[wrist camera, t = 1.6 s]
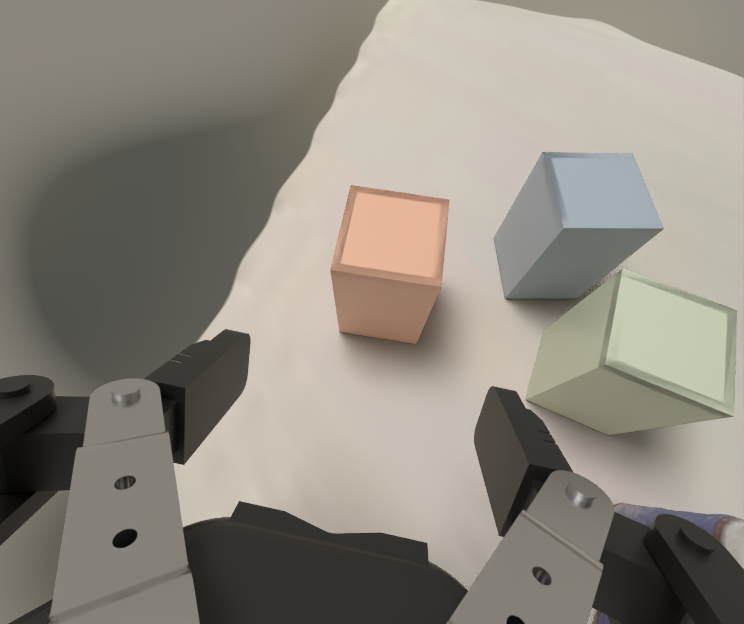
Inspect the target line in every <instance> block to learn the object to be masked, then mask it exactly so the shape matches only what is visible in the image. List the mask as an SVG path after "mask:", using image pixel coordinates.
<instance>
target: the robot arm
mask: <svg viewBox="0 0 744 624" xmlns="http://www.w3.org/2000/svg"><path fill="white" fill-rule="evenodd" d="M249 353H250V335H249V334H247V333H242V332H237V331H232V330H228V329H225V330H224V331H222V332H221V333H220V334H218V335H217V336H216V337H214V338H213V339H212V340H211V341H209V340H204V341H201V342H198V343H195V344H192V345H190V346H189V347H187V348H186V349H185V350H183V351H182V352H181V353H180V354H178V355H176V356H175V357H173V358H172V359H171V361H168V362H166V363H165V364H164V365H163V366H161V367H159V368H158V369H157V370H155V371H154V372H153V373H151V374H150V375H149V376H147V377H146V378H144V379H123V380H118V381H114V382H111V383H108V384H105V385H103V386H101V387H99V388H98V389H96V390H95V391H94V392H93V393H92V394H91V396H90V397H64V396H55V389H54V383H53V382H52V380H50V379H49V378H46V377H42V376H36V375H21V376H13V377H7V378H3V379H0V545H1V544H2V543H3V542H5V541H6V540H7V539H8V538H9V537H10V536H11V535H12V534H13V533H14V532H15V531H16V530H17V529H18V528H19V527H21V525H23V524H24V523H25V522H26V521H27V520H28V519H29V518H30V517H31V516H32V515H33V514H34V513H35V512H37V511H38V510H39V509H40V508H41V507H42V506H43V505H44V504H45V503H46V502H47V501H48V500H49V499H50V498H51V497H52V496H54V495H55V494H56V493H57V492H58V491H60V490H70V493H69V499H68V505H67V512H66V519H65V525H64V532H63V537H62V544H61V550H60V557H59V563H58V569H57V576H56V582H55V589H54V595H53V599H52V600H50V601H48V602H46V603H45V604H43V605H41V606H40V607H38V608H36V609H34V610H32V611H30V612H29V613H27V614H25V615H23V616H22V617H20V618H18V619H16V620H14V621H12V622H11V623H9V624H587V622H588V619H589V615H590V612H591V608H594V609H596V610H598V611H600V612H602V613H604V614H606V615H607V617H608V619H609V622H610V624H744V569H743V568H742V566H741V565H740V564H739V563H738V562H737V561H736V559H735V558H734V557H733V556H732V555H731V553H730V552H729V551H728V550H727V549H726V548H725V547H724V546H723V545H722V544H721V543H720V542H719V541H718V540H717V539H715V538H714V537H713V536H712V535H710V534H709V533H708V532H706V531H705V530H703V529H702V528H700V527H699V526H697V525H695V524H694V523H692V522H690V521H688V520H686V519H683V518H681V517H678V516H675V515H671V514H660V515H658V516H657V517H656V518H655V520H654V522H653V523H652V525H651V527H648V526H646V525H644V524H641V523H639V522H637V521H634V520H632V519H630V518H628V517H625V516H623V515H621V514H619V513H616V512H614V511H615V510H614V506H613V503H612V501H611V500H610V498H609V497H608V496H607V495H606V493H605V492H604V491H603V490H602V489H600V488H599V487H598V486H597V485H596V484H594V483H593V482H591V481H590V480H588V479H586V478H585V477H583V476H581V475H578V474H576V473H573V471H572V469H571V468H570V466H569V464H568V462H567V461H566V459H565V457H564V456H563V454H562V452H561V451H560V449H559V447H558V446H557V445H556V444H555V441H554V439H553V437H552V436H551V435H550V434H549V433H550V432H549V431H548V429H547V427H546V426H545V424H544V422H543V421H542V420H541V419H540V418H539V417H538V416H537V415H536V414H535V413H533V412H532V411H531V410H530V409H526V408H525V406H524V404H523V403H522V401H521V399H520V397H519V395H518V394H517V392H516V391H513V390H508V389H503V388H499V387H494V386H492V387H490V389H489V390H488V393H487V395H486V398H485V401H484V404H483V407H482V410H481V413H480V416H479V419H478V422H477V425H476V428H475V434H474V444H475V449H476V452H477V456H478V460H479V463H480V467H481V471H482V474H483V478H484V482H485V486H486V489H487V493H488V497H489V500H490V504H491V508H492V511H493V515H494V519H495V523H496V526H497V530H498V534H499V536H502V537H504V538H503V540H502V541H501V543H500V544H499V546H498V547H497V549H496V550H495V552H494V553H493V555H492V556H491V558H490V559H489V561H488V562H487V564H486V565H485V567H484V568H483V570H482V571H481V573H480V574H479V576H478V577H477V579H476V580H475V582H474V583H473V585H472V586H471V588H470V589H469V591H468V590H467V589H466V588H465V587H464V586H462V585H461V584H460V583H459V582H458V581H457V580H456V579H455V578H453V577H452V576H451V575H450V574H448V573H447V572H446V571H444V570H443V569H441V568H439V567H438V566H436V565H435V564H433V563H431V562H429V561H428V547H427V543H424V542H420V541H415V540H411V539H407V538H402V537H398V536H393V535H389V534H384V533H344V534H333V533H328V532H326V531H324V530H322V529H320V528H317V527H315V526H313V525H311V524H309V523H307V522H305V521H303V520H301V519H299V518H297V517H295V516H293V515H291V514H289V513H287V512H285V511H281V510H277V509H272V508H268V507H263V506H259V505H254V504H250V503H245V502H241V501H239V503H238V505H237V507H236V508H235V510H234V512H233V514H232V516H231V517H222V518H214V519H209V520H204V521H200V522H197V523H194V524H191V525H188V526H185V527H183V526H182V520H181V513H180V506H179V499H178V492H177V485H176V478H175V471H174V464H173V463H178V464H182V465H184V464H185V463H186V462H187V461H188V459H189V458H190V457H191V456H192V454H193V453H194V452H195V451H196V449H197V448H198V447H199V446H200V444H201V443H202V442H203V441H204V440H205V438H206V437H207V436H208V435H209V433H210V432H211V431H212V430H213V428H214V427H215V426H216V425H217V423H218V422H219V421H220V420H221V419H222V417H223V416H224V415H225V414H226V412H227V411H228V410H229V409H230V407H231V406H232V405H233V404H234V402H235V401H236V400H237V399H238V398H239V396H240V395H241V394H242V392H243V390H244V388H245V385H246V381H247V376H248V365H249Z"/></svg>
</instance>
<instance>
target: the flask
mask: <svg viewBox="0 0 744 624" xmlns="http://www.w3.org/2000/svg"><path fill="white" fill-rule="evenodd" d="M613 506H614V510H615V511H614V512H616V513H619V514H621V515H623V516H625V517H628V518H630V519H632V520H634V521H637V522H639V523H641V524H644V525H646V526H648V527H651V525H652V523H653V522H654V520H655V518H656V517H657V516H658V515H660V514H671V515H675V516H678V517H681V518H683V519H686V520H688V521H690V522H692V523H694V524H695V525H697V526H699V527H700V528H702V529H703V530H705V531H706V532H708V533H709V534H710V535H712V536H713V537H714V538H715V539H717V540H718V541H719V542H720V543H721V544H722V545H723V546H724V547H725V548H726V549H727V550H728V551H729V552H730V553H731V555H732V556H733V557H734V558H735V559H736V561H737V562H738V563H739V564H740V565H741V566H742V568H743V569H744V520H742V519H739V518H736V517H733V516H729V515H724V514H700V513H692V512H685V511H674V510H667V509H663V508H654V507H645V506H637V505H631V504H625V503H619V504H616V505H615V504H614V505H613ZM594 613H595V615H594V616H595V617H594V621H593V624H610V622H609V619H608V617H607V615H606V614H604V613H602V612H600V611H598V610H596V611H594Z"/></svg>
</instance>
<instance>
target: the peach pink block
mask: <svg viewBox="0 0 744 624" xmlns="http://www.w3.org/2000/svg"><path fill="white" fill-rule="evenodd" d="M448 210H449V200H448V199H442V198H435V197H428V196H421V195H414V194H407V193H401V192H394V191H387V190H380V189H373V188H367V187H360V186H353V185H351V187H350V191H349V195H348V199H347V203H346V207H345V212H344V216H343V220H342V224H341V228H340V232H339V236H338V241H337V245H336V249H335V253H334V257H333V261H332V265H331V277H332V284H333V291H334V297H335V304H336V311H337V318H338V325H339V331H340V332H344V333H350V334H356V335H363V336H369V337H375V338H381V339H387V340H393V341H400V342H406V343H412V344H417V341H418V339H419V337H420V335H421V332H422V330H423V328H424V325H425V323H426V321H427V319H428V316H429V314H430V312H431V309H432V307H433V305H434V303H435V300H436V298H437V296H438V293H439V291H440V289H441V285H442V274H443V263H444V253H445V242H446V231H447V221H448Z"/></svg>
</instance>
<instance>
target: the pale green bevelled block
mask: <svg viewBox="0 0 744 624" xmlns="http://www.w3.org/2000/svg"><path fill="white" fill-rule="evenodd" d="M736 326H737V310H735V309H732V308H729V307H727V306H724V305H721V304H718V303H716V302H713V301H710V300H707V299H705V298H702V297H699V296H696V295H694V294H691V293H688V292H685V291H683V290H680V289H677V288H674V287H672V286H669V285H666V284H664V283H661V282H658V281H655V280H653V279H650V278H647V277H644V276H642V275H639V274H636V273H633V272H631V271H628V270H625V269H622V270H620V271H619V272H618V273H617V274H615V275H614V276H613V277H611V278H610V279H609V280H607V281H606V282H605V283H604V284H602V285H601V286H600V287H598V288H597V289H596V290H595V291H593V292H592V293H591V294H589V295H588V296H587V297H586V298H584V299H583V300H582V301H580V302H579V303H578V304H577V305H575V306H574V307H573V308H571V309H570V310H569V311H568V312H566V313H565V314H564V315H562V316H561V317H560V318H559V319H557V320H556V321H555V322H553V323H552V324H551V325H550V326H548V327H547V328H546V329H544V332H543V336H542V340H541V343H540V347H539V351H538V354H537V358H536V362H535V366H534V369H533V373H532V377H531V380H530V384H529V388H528V392H527V395H526V399H525V400H528V401H530V402H532V403H534V404H537V405H539V406H541V407H544V408H546V409H548V410H551V411H553V412H555V413H558V414H560V415H562V416H565V417H567V418H569V419H572V420H574V421H576V422H578V423H581V424H583V425H585V426H588V427H590V428H592V429H595V430H597V431H599V432H602V433H604V434H606V435H614V434H620V433H627V432H634V431H640V430H647V429H654V428H660V427H667V426H674V425H680V424H687V423H693V422H700V421H707V420H713V419H720V418H727V417H733V416H734V395H735V360H736Z"/></svg>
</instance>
